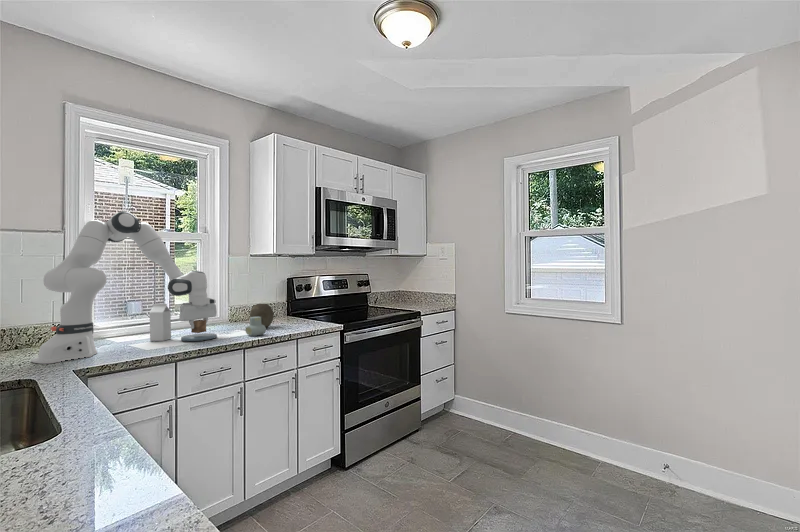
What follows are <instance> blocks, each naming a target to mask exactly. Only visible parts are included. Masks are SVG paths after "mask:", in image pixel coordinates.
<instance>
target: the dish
mask: <svg viewBox="0 0 800 532" xmlns="http://www.w3.org/2000/svg"><path fill="white" fill-rule="evenodd" d="M216 338H217V334H216V333H210V332H209V333H206V332H203V333H192V334H186V335H183V336H181V337H180V340H181V341H182V342H203V341H202V340H205V341H207V340H208V341H209V340H213V339H216Z"/></svg>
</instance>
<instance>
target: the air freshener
mask: <svg viewBox="0 0 800 532" xmlns="http://www.w3.org/2000/svg"><path fill="white" fill-rule="evenodd" d="M266 331H267V328H266V327H265V326H264V325H262V324H261V317H250V316H249V325H247V326H246V327H245V334H247V335H248V336H250V337H258V336H257V335H260V336H262V335H264V334H265V333H266Z"/></svg>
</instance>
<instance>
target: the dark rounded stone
mask: <svg viewBox="0 0 800 532" xmlns="http://www.w3.org/2000/svg"><path fill="white" fill-rule="evenodd" d="M250 317H261V324H262V325H264V326H265V327H266V329H268V328H269V327H270V326H271V325H272V324H273V323H272V322H273V320H274V317H275V316H274V311H273V309H272V307H271V306H270V304H268V303H257V304H254V305H253V306H252V308H251V310H250V311H249V318H250Z"/></svg>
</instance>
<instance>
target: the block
mask: <svg viewBox="0 0 800 532" xmlns="http://www.w3.org/2000/svg"><path fill="white" fill-rule="evenodd" d="M193 323H194V325H196V328H195V329H190V330H191V333H192V334H202V333H206V332H207V323H206V320H203V319H197V320H194V322H193Z"/></svg>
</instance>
